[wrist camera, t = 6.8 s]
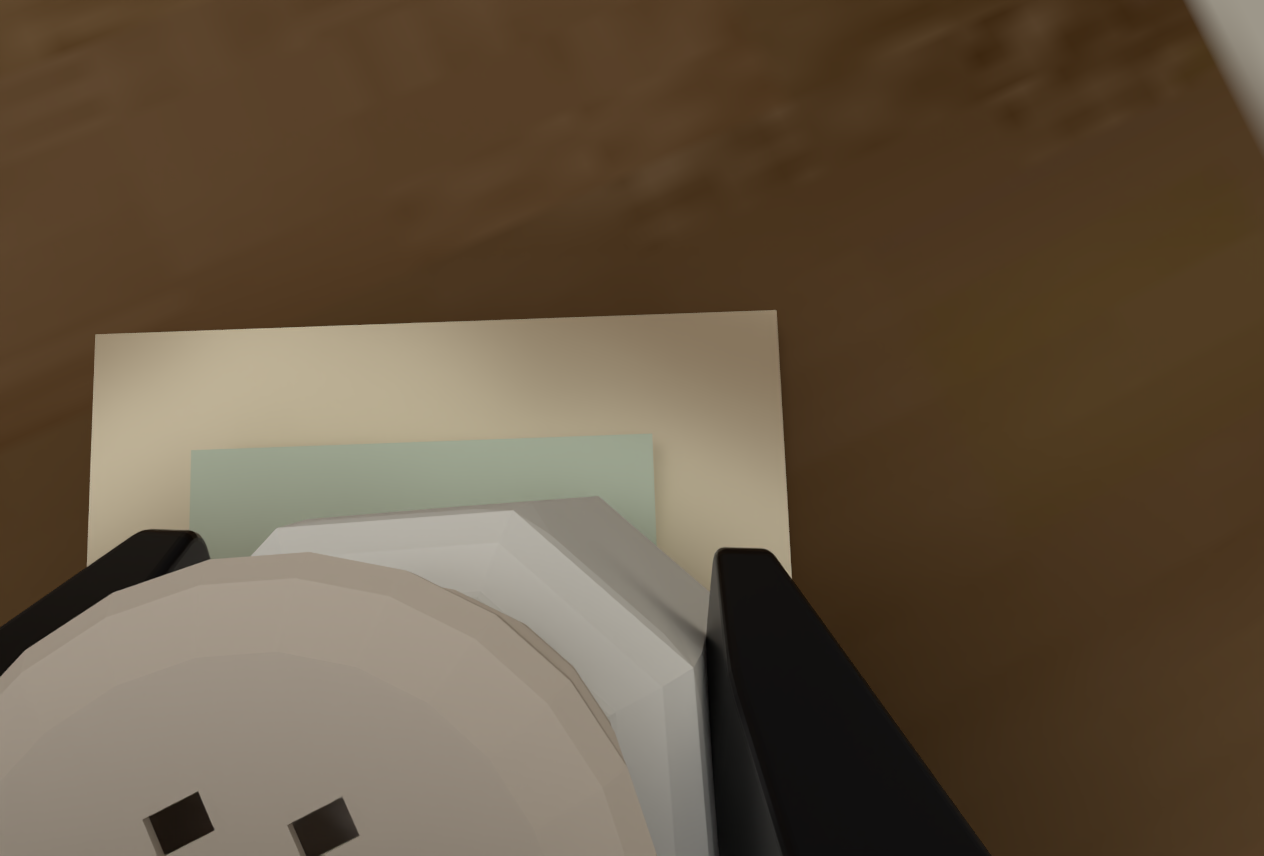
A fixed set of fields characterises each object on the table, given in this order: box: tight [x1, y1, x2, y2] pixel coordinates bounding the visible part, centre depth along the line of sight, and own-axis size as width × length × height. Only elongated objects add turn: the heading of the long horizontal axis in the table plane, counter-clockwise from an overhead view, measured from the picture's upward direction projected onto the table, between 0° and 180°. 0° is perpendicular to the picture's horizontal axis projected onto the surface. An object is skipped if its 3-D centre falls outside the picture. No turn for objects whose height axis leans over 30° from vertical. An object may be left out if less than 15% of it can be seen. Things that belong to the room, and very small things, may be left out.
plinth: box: [87, 310, 792, 592], centre depth 19 cm, size 13×13×3 cm
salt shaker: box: [0, 496, 719, 856], centre depth 9 cm, size 5×5×11 cm
